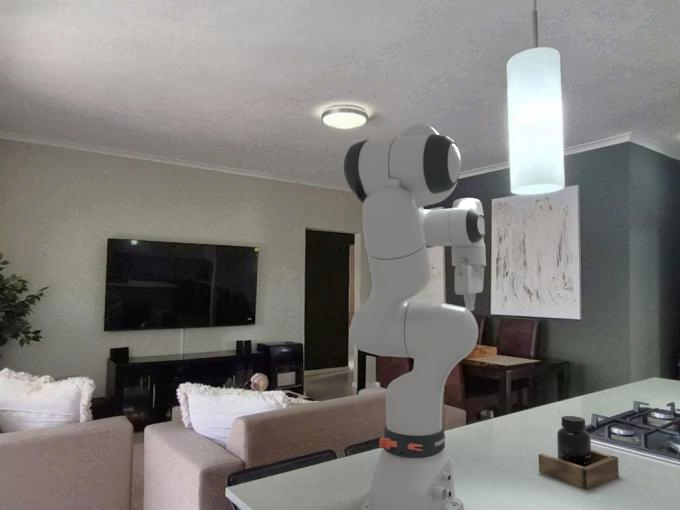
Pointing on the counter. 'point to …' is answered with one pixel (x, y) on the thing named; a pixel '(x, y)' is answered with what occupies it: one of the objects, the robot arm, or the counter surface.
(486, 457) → the counter surface
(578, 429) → the supplement bottle
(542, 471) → the walnut holder
